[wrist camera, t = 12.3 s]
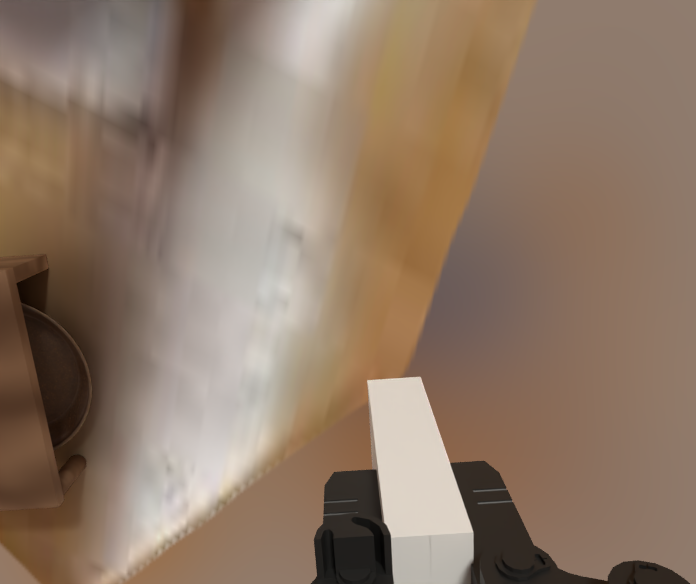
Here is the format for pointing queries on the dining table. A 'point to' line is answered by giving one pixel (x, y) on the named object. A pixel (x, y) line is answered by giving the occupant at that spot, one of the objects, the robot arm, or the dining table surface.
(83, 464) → the overhang shelf
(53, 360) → the saucer
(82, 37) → the dining table surface
